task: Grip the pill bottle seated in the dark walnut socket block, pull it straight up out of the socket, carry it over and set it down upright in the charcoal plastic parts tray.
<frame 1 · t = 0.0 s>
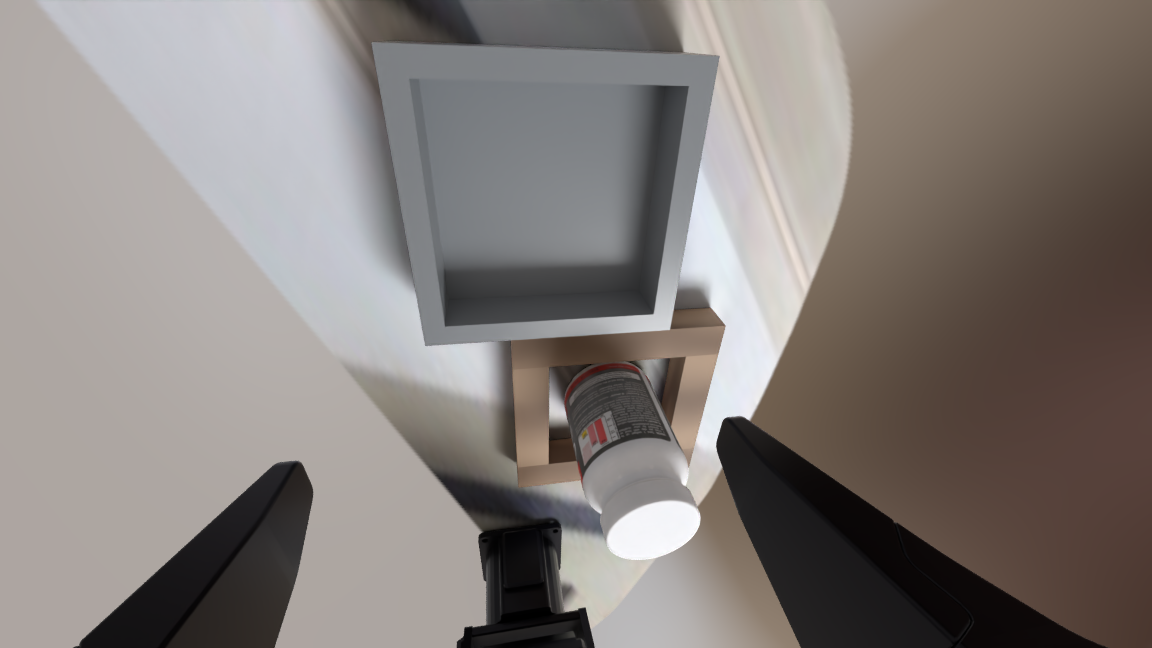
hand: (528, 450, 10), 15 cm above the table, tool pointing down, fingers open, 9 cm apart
parts tray: (545, 193, 21), on the table
pill bottle: (605, 389, 29), resting in socket block
socket block: (606, 391, 29), on the table
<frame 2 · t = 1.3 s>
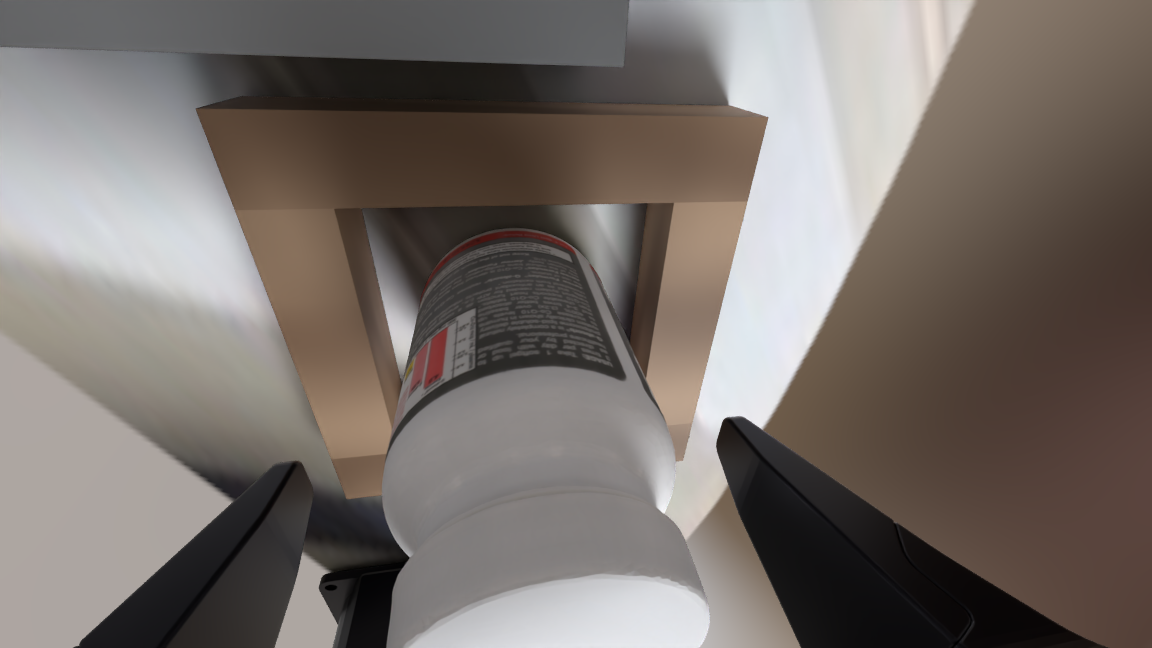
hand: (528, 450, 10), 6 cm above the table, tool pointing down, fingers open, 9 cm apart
pill bottle: (515, 303, 15), resting in socket block
socket block: (515, 307, 14), on the table
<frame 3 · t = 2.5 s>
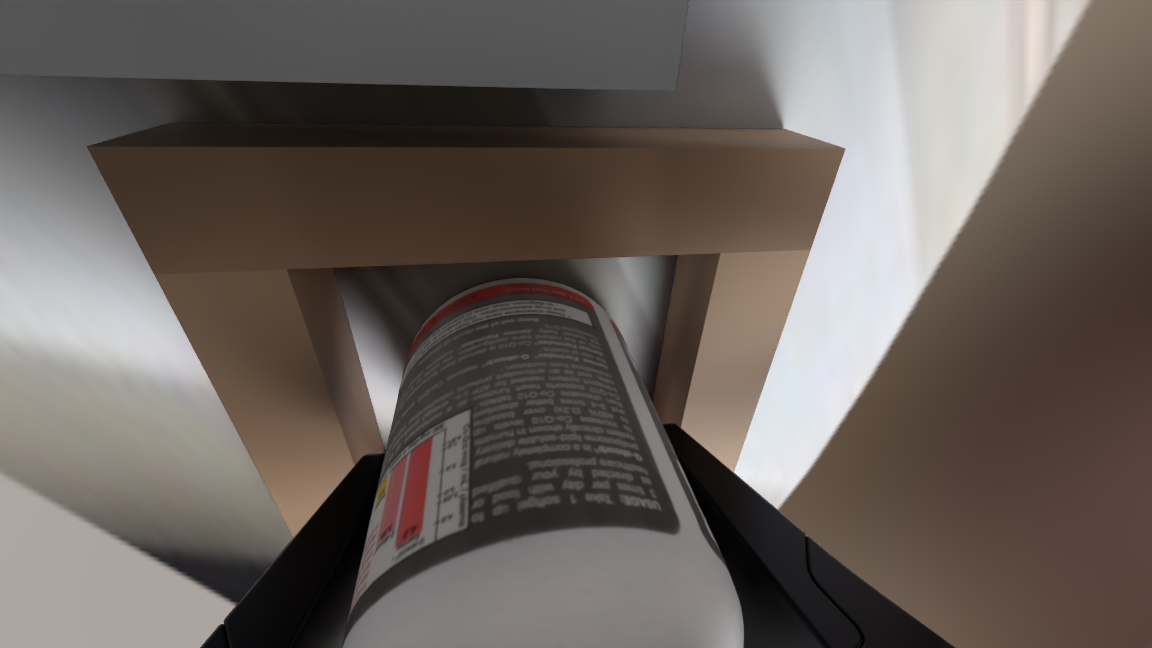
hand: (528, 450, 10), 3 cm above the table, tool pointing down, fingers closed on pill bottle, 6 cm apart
pill bottle: (519, 359, 12), resting in socket block, touching gripper
socket block: (520, 364, 12), on the table
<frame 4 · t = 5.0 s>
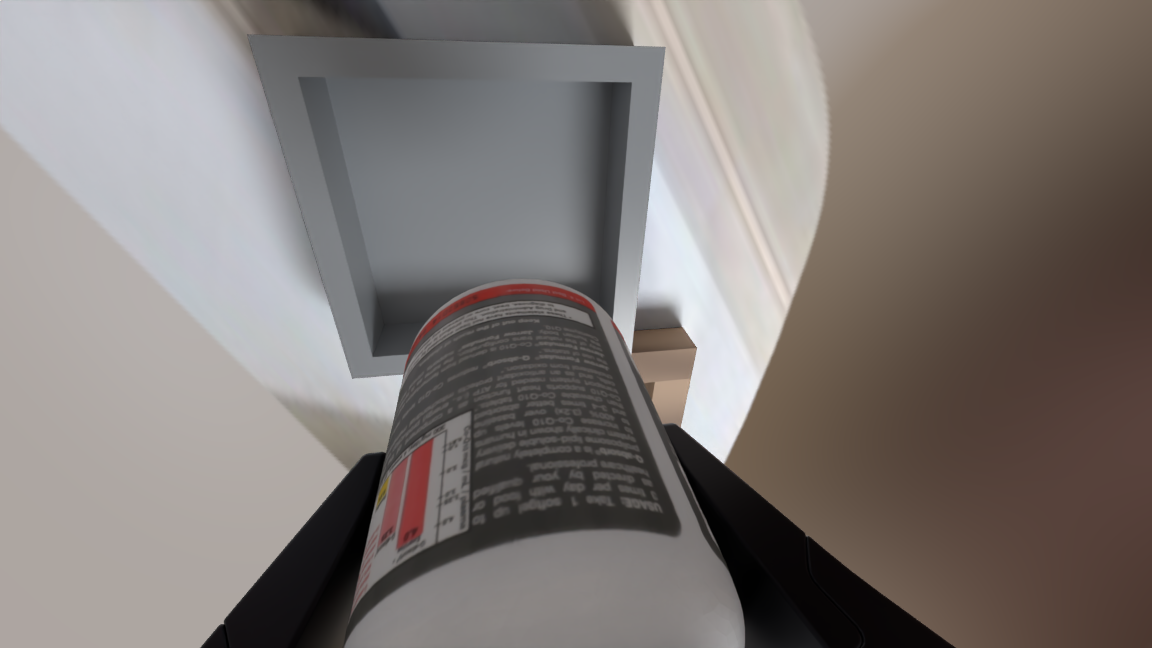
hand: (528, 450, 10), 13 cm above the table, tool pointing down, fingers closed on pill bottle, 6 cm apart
parts tray: (487, 206, 19), on the table
pill bottle: (520, 360, 12), point 9 cm above the table, touching gripper
socket block: (572, 418, 27), on the table
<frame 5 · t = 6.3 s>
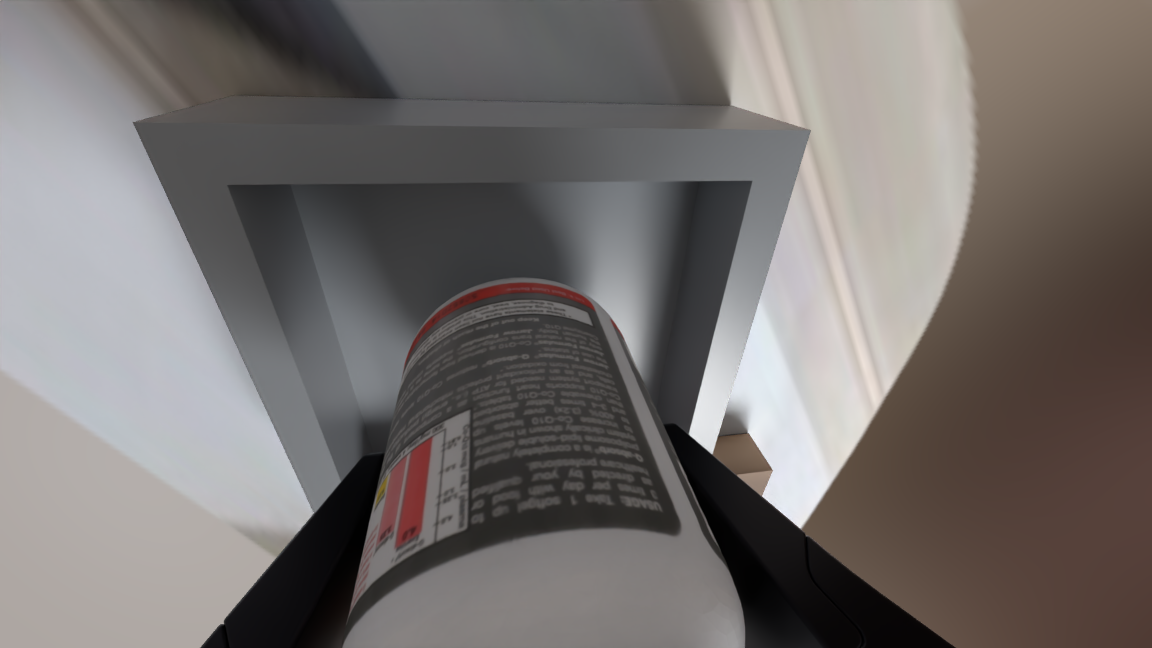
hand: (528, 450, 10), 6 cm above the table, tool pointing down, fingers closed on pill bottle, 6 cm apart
parts tray: (514, 309, 14), on the table
pill bottle: (519, 359, 12), point 2 cm above the table, touching gripper
socket block: (605, 531, 22), on the table
when the fingers open (5 cm above the table, at t = 7.3 s): pill bottle stays where it is, resting on parts tray.
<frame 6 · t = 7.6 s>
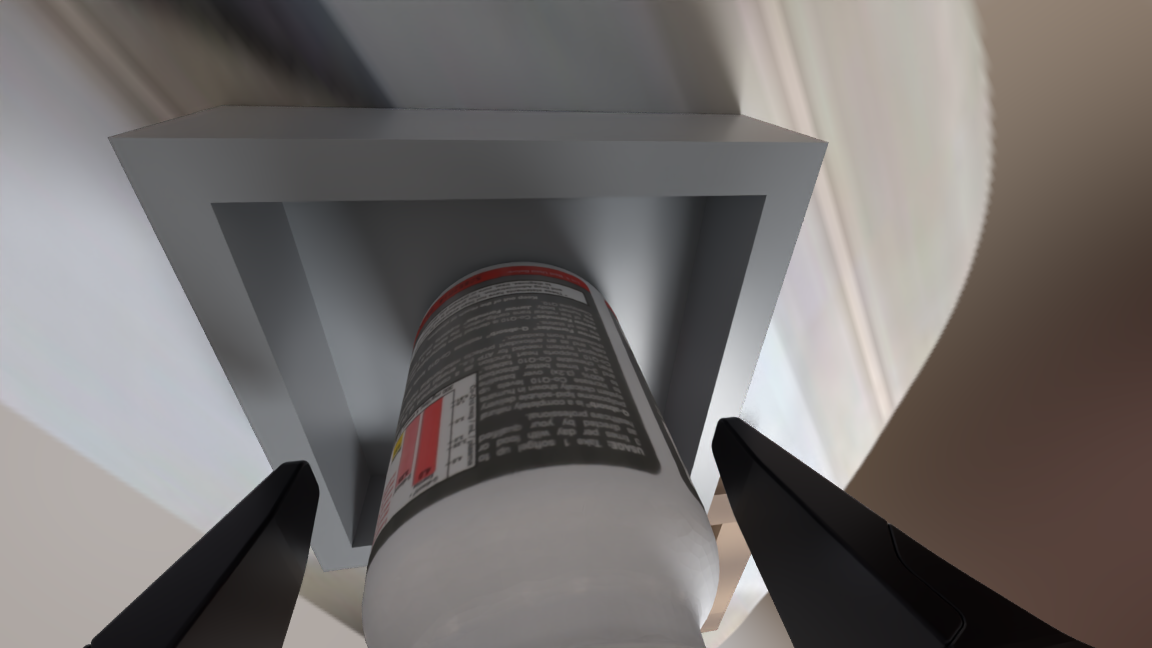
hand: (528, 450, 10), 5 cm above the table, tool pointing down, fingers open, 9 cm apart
parts tray: (515, 324, 14), on the table
pill bottle: (520, 340, 13), point 1 cm above the table, touching parts tray
socket block: (608, 546, 21), on the table
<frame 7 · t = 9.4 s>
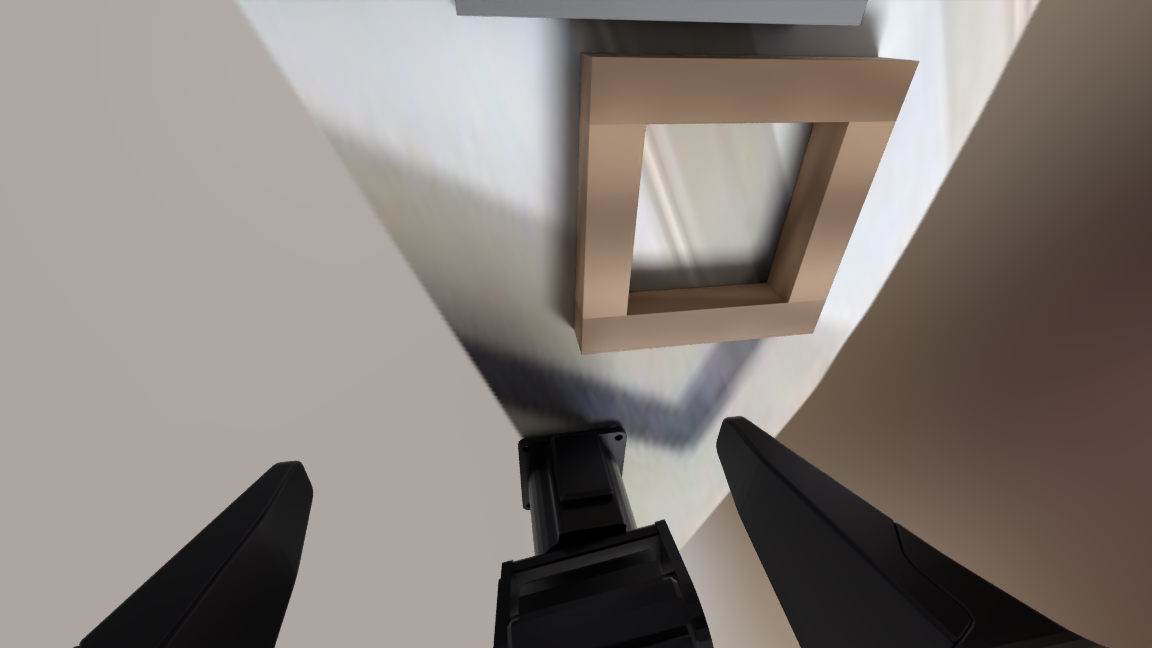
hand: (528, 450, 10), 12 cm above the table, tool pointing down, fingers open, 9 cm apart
socket block: (708, 210, 20), on the table
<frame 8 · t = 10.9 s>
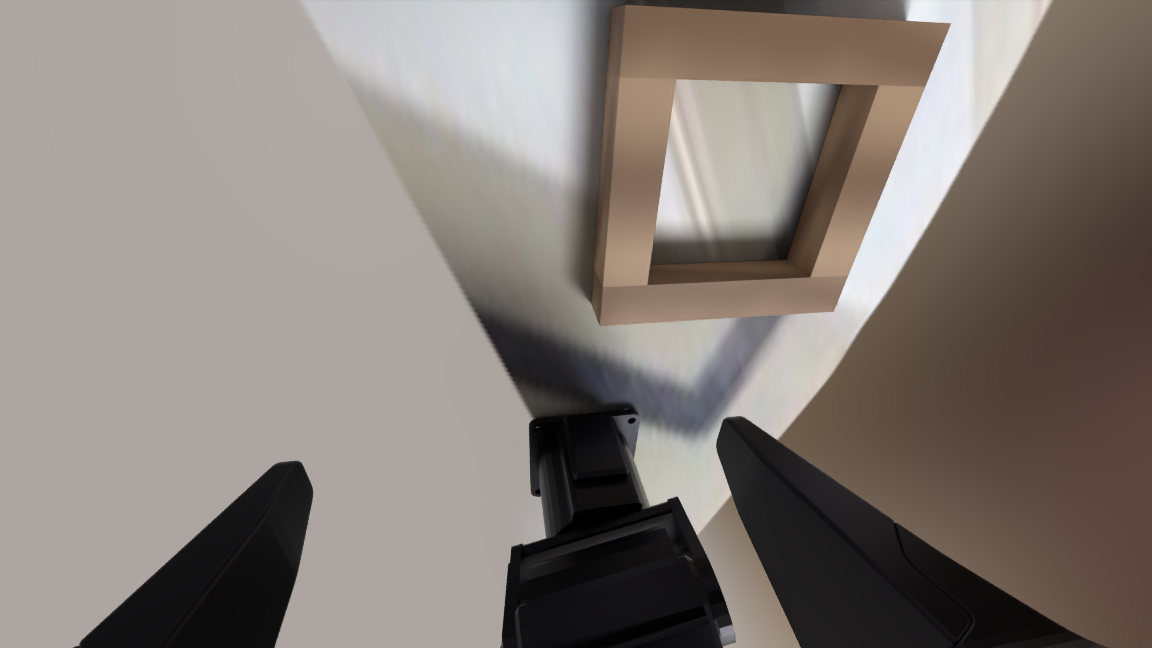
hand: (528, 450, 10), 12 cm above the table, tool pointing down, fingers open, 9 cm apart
socket block: (731, 180, 20), on the table
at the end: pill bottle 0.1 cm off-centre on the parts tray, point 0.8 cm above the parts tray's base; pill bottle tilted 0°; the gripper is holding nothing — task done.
